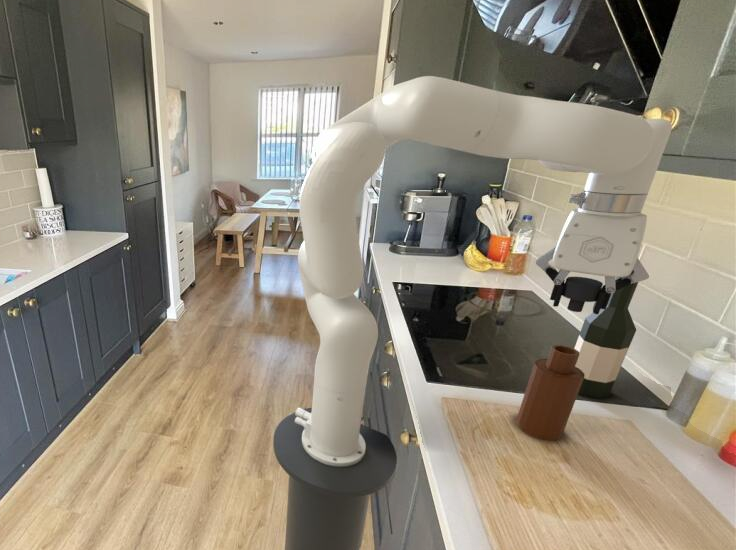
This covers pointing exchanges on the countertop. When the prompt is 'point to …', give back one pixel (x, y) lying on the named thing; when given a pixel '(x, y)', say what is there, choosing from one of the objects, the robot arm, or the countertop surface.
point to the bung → (581, 291)
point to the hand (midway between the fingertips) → (575, 306)
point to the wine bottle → (605, 343)
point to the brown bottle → (550, 394)
